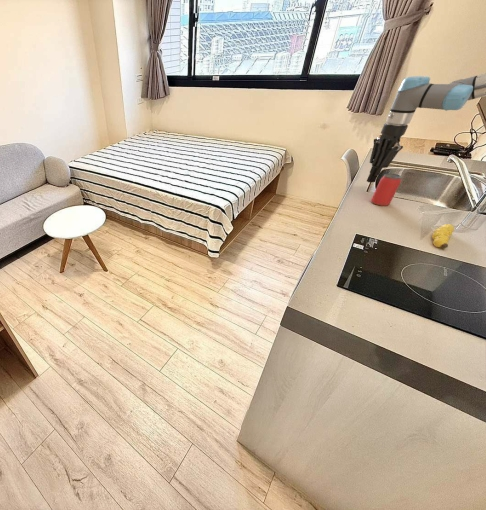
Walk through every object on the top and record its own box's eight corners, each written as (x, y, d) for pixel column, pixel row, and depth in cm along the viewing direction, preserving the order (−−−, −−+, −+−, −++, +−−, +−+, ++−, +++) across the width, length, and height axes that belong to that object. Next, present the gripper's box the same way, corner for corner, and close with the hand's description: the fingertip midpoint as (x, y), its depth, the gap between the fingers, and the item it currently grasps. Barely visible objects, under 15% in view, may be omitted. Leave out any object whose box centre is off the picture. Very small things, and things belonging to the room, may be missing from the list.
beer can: (373, 206, 116) (386, 178, 109) (367, 199, 121) (379, 172, 114) (392, 206, 114) (406, 178, 107) (385, 200, 119) (398, 173, 112)
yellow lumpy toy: (435, 226, 100) (444, 219, 97) (450, 234, 98) (459, 226, 95) (425, 243, 92) (434, 236, 90) (441, 252, 90) (451, 244, 87)
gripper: (375, 120, 113) (352, 176, 127) (400, 128, 102) (372, 188, 116) (393, 119, 113) (368, 175, 127) (420, 126, 102) (390, 186, 116)
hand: (370, 181), depth 121 cm, fingers closed
